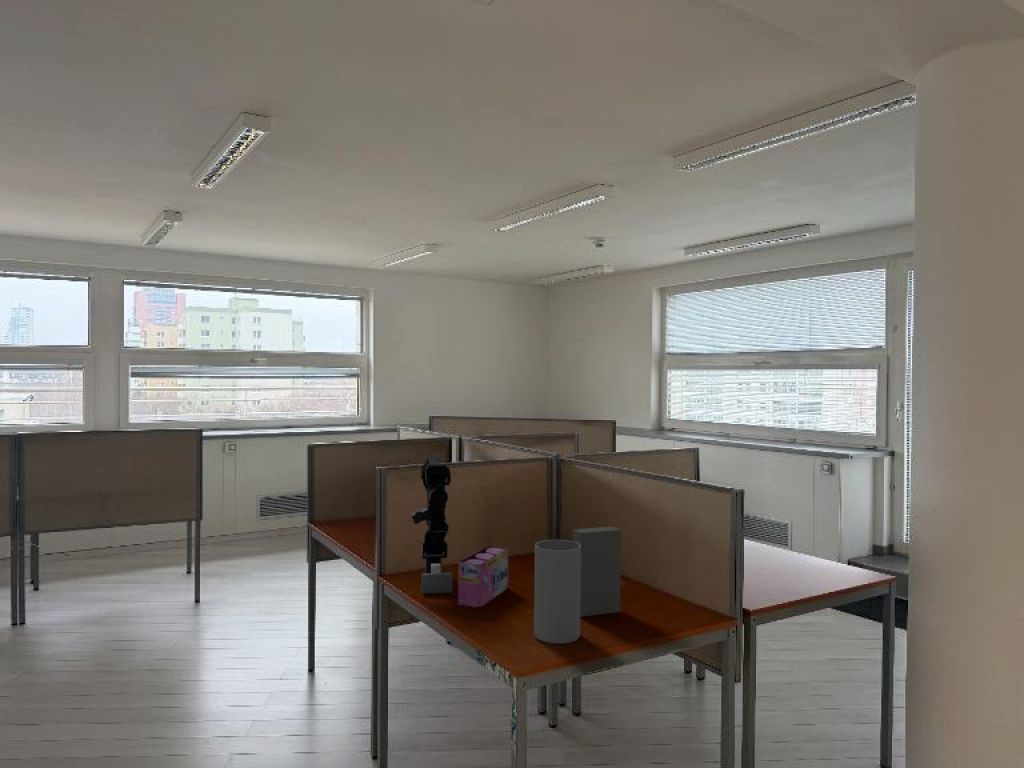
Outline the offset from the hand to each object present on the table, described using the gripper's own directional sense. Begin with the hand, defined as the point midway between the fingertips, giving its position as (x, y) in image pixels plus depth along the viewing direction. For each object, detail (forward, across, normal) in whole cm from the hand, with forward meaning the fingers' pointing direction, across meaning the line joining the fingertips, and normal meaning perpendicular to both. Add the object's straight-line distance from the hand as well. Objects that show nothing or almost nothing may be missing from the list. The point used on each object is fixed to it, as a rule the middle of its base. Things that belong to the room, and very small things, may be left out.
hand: (436, 547), depth 241 cm
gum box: (+13, +14, +14) cm, 24 cm away
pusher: (+13, +3, 0) cm, 13 cm away
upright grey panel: (+13, +35, +45) cm, 58 cm away
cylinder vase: (+13, +53, +28) cm, 61 cm away
